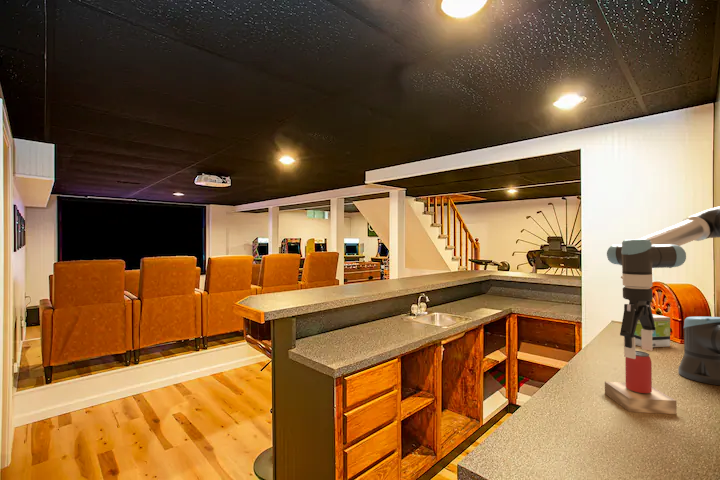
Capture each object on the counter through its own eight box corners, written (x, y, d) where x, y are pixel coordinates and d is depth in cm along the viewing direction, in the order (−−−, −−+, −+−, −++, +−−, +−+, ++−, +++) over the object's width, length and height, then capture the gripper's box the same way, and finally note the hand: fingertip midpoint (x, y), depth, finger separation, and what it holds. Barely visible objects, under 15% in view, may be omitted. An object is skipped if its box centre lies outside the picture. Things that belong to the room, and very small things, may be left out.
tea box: (646, 348, 170) (646, 318, 170) (626, 342, 180) (626, 313, 180) (671, 346, 173) (670, 316, 173) (650, 341, 183) (650, 312, 183)
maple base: (646, 395, 118) (646, 383, 118) (676, 414, 105) (676, 400, 105) (604, 393, 119) (604, 381, 119) (629, 411, 106) (629, 398, 107)
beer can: (656, 395, 108) (656, 356, 108) (632, 393, 110) (632, 355, 110) (643, 387, 115) (643, 350, 115) (621, 385, 116) (621, 349, 116)
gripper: (638, 283, 122) (640, 344, 122) (606, 289, 109) (607, 358, 109) (666, 285, 116) (667, 349, 116) (635, 292, 103) (637, 364, 102)
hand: (638, 353), depth 112 cm, fingers open, 13 cm apart
